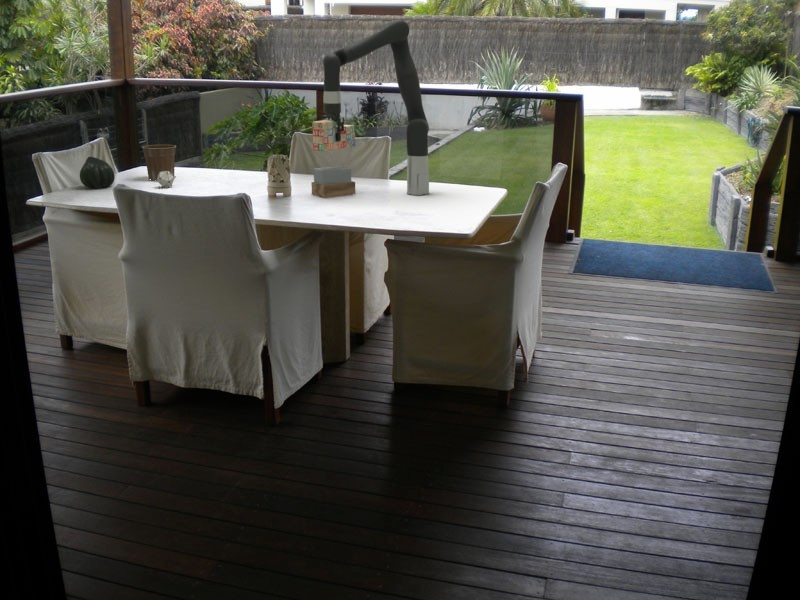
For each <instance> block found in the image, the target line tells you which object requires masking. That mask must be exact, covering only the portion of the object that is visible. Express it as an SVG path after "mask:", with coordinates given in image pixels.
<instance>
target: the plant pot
mask: <svg viewBox="0 0 800 600" xmlns="http://www.w3.org/2000/svg"><path fill="white" fill-rule="evenodd" d="M141 148H142V151H143V155H144V160H145V164H146V171H147V176H148V180H149V179H151V180H150V181H153V180H157V178H158V175H159V171H160V172H162V171H168V170H169V172H170V173H171V174H172V175H173V176H174V177H175V158H176V148H177V145H175V144H150V145H149V144H148V145H144V146H141Z"/></svg>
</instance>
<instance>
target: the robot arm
mask: <svg viewBox="0 0 800 600" xmlns="http://www.w3.org/2000/svg"><path fill="white" fill-rule="evenodd" d="M409 34H410V27H409V24H408V23H407V21H405V20H403V19H397V18H396V19H394V20H391V22H390V23H389V24H388V25H387V26H385V27H384V28H382V29H380V30H379V31H377V32H375V33H373V34H371V35H369V36H366V37H363V38H361V39H359V40H357V41H354V42H352V43H349V44H348V45H346V46H344V47H342V48H341V49H338V50H335V51H332V52H330V53H328V54H326V55H325V56H324V57H323V59H322V65H323V73H324V74H323V75H324V79H323V113H324V114H325V115H321V121H322V120H330V121H337V122H338V125H335V126H334V127H335V132H336V133H335V138H336V141H337V142H338V141H341V132H342V131H344V125H345V117H340V114H341V113H342V96H341V81H340V79H341V77H340V76H341V67H343V66H345V65H347V64H350V63H353V62H356V61H358V60H360V59H362V58H364V57H366V56H368V55H370V54H371V53H373V52H374V51H377V50H378V49H381V48H383V47H386V46H387V45H390V48H391V51H392V55H393V63H394V70H395V74H396V82H397V86H398V90H399V93H400V97H401V98H402V100H403V104H404V106H405V109H406V114H407V121H408V124H407V126H406V151H407V153H406V154H407V160H406V162H407V163H406V170H407V171H406V194H407V193H408V194H407V195H410V194H411V195H413V196H423V194H425V195H429V194H430V172H429V146H428V145H429V142H428V137H429V136H428V135H429V130H430V127H429V123H428V120H427V116H426V114H425V110H424V106H423V100H422V90H421V86H420V80H419V76H418V72H417V67H416V65H415V63H414V59H413V57H412V55H411V52H410V46H409V38H408V37H409ZM340 127H341V128H340ZM337 128H338V130H337ZM428 193H429V194H428Z"/></svg>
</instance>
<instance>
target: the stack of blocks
mask: <svg viewBox="0 0 800 600" xmlns="http://www.w3.org/2000/svg"><path fill="white" fill-rule="evenodd" d="M335 125H338V122H337V121H330V120H322V119H321V120H316V121H312V148H313V149H312V150H313V151H318V152H319V151H320V152H327V151H333V150H338V149H339V150H340V149H344V148H350V147H355V146H356V132H355V131H356V130H355V128H356V127H355V126H356V125H354V124H344V131H342V132H341V141H338V142H337V141H336V138H335V133H336V132H335V127H334V126H335ZM340 128H341V127H340ZM337 130H338V128H337Z"/></svg>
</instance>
